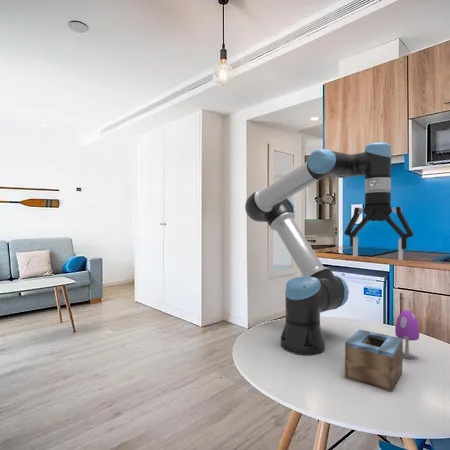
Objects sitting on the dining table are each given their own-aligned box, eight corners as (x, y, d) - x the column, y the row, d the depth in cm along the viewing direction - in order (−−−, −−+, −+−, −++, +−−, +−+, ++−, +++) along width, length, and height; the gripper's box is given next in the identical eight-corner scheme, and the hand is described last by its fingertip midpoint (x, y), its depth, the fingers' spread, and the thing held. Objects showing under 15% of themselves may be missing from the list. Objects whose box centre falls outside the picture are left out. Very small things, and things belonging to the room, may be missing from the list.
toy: (422, 362, 100) (423, 314, 99) (399, 360, 101) (399, 312, 101) (414, 353, 106) (414, 308, 106) (392, 351, 108) (392, 307, 107)
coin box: (345, 377, 90) (345, 342, 90) (359, 361, 100) (359, 329, 100) (392, 391, 83) (392, 353, 83) (402, 372, 93) (402, 338, 93)
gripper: (334, 193, 108) (334, 256, 109) (420, 189, 93) (419, 262, 93) (342, 194, 114) (342, 254, 115) (424, 190, 99) (423, 259, 99)
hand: (377, 258), depth 104 cm, fingers open, 13 cm apart
